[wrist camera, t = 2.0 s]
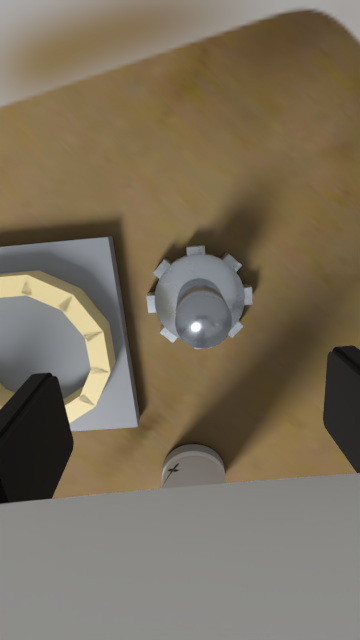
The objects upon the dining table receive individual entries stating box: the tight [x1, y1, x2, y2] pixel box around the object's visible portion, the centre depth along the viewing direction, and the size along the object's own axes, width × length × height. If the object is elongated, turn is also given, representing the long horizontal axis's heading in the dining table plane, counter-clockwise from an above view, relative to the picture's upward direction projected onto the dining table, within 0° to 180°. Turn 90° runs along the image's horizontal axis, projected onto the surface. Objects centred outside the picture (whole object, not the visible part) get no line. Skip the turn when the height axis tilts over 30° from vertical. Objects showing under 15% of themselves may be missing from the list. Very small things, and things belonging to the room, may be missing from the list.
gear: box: [146, 245, 252, 349], centre depth 23 cm, size 8×8×7 cm
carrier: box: [0, 236, 140, 431], centre depth 26 cm, size 19×17×4 cm
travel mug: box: [161, 444, 226, 489], centre depth 22 cm, size 6×7×20 cm
